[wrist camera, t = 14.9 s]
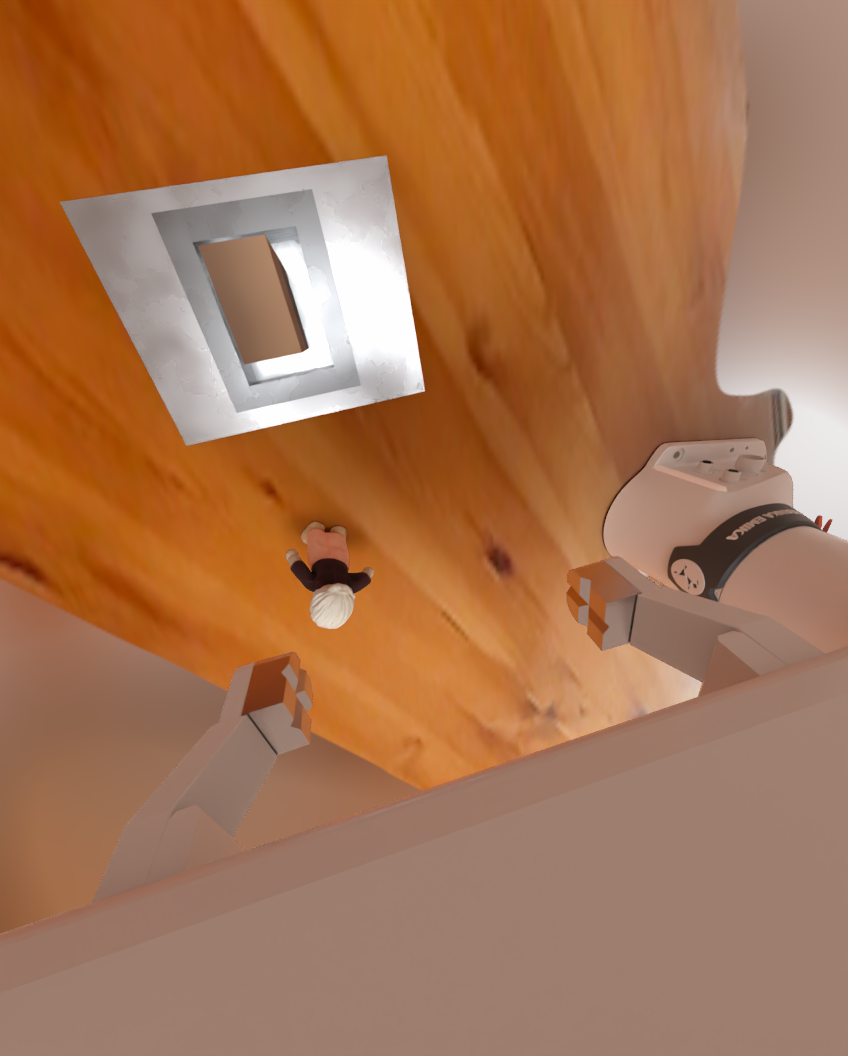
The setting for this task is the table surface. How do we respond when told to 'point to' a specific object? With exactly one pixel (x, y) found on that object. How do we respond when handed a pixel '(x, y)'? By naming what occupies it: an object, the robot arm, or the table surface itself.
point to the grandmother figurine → (328, 575)
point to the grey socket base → (314, 275)
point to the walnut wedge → (255, 298)
